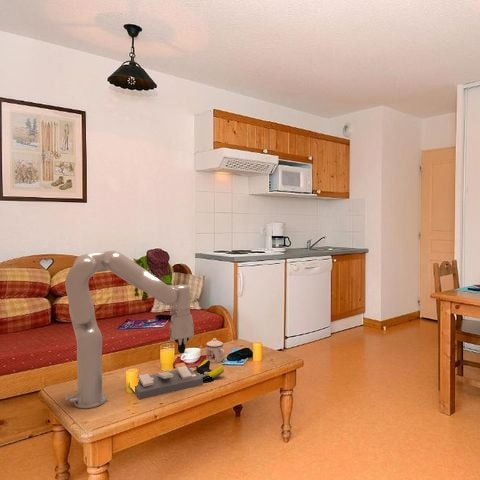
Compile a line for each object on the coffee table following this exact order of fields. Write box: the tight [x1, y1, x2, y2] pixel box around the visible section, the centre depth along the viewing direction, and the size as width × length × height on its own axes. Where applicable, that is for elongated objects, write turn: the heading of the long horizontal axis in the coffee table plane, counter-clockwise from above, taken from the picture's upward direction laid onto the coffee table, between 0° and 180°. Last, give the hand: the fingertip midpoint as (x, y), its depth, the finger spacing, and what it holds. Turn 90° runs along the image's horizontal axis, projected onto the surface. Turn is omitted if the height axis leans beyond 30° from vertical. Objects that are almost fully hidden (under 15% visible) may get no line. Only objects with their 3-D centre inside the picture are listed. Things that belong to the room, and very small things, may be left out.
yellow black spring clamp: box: [194, 359, 225, 379], centre depth 194 cm, size 15×6×10 cm
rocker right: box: [174, 362, 192, 379], centre depth 187 cm, size 4×10×1 cm, turn 31°
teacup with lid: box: [205, 337, 226, 364], centre depth 215 cm, size 12×9×12 cm
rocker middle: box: [155, 370, 173, 379], centre depth 182 cm, size 4×10×1 cm, turn 31°
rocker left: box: [137, 370, 154, 387], centre depth 178 cm, size 4×10×1 cm, turn 30°
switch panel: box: [134, 367, 204, 400], centre depth 183 cm, size 29×16×4 cm, turn 121°
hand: (181, 352), depth 183 cm, fingers closed
